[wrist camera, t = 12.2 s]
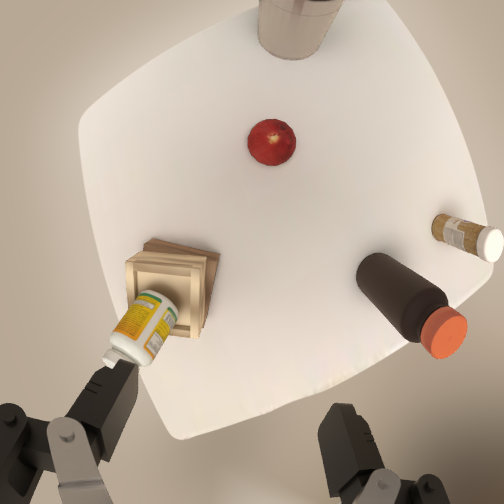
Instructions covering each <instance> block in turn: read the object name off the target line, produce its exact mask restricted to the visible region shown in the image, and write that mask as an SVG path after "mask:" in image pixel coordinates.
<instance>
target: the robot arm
mask: <svg viewBox="0 0 504 504" xmlns="http://www.w3.org/2000/svg"><path fill="white" fill-rule="evenodd" d="M343 2H344V0H259V18H258V39H259V42H260V43H261V45H262V47H263V48H264V49H265V50H266V51H268V52H269V53H270V54H272V55H274V56H276V57H278V58H281V59H286V60H300V59H304V58H307V57H309V56H311V55H312V54H314V53H315V52H316V51H317V49H318V47H319V45H320V44H321V42H322V40H323V38H324V36H325V35H326V33H327V31H328V29H329V27H330V25H331V24H332V22H333V20H334V18H335V16H336V14H337V13H338V11H339V9H340V7H341V5H342V3H343ZM137 394H138V364H135V363H132V362H129V361H126V360H123V359H119V360H118V361H117V363H116V364H115V366H114V367H113V369H112V368H109V367H106V366H105V367H103V368H101V369H99V370H98V371H96V372H95V373H94V375H93V376H92V377H91V379H90V381H89V382H88V383H87V385H86V386H85V389H83V391H82V392H81V394H80V395H79V397H78V398H77V399H76V401H75V403H74V404H73V406H72V407H71V409H70V410H69V412H68V413H67V414H66V416H65V417H59V418H56V419H54V420H52V421H51V422H47V421H42V420H38V419H33V418H30V417H27V416H26V414H25V412H24V411H23V409H22V408H21V407H19V406H18V405H15V404H12V403H6V404H2V405H0V504H29V503H30V501H31V498H32V496H33V494H34V491H35V489H36V487H37V484H38V482H39V480H40V477H41V475H42V473H43V471H44V470H46V471H50V472H55V473H56V474H57V478H58V481H59V485H58V490H59V493H60V497H61V499H62V503H63V504H113V502H112V500H111V498H110V496H109V493H108V491H107V489H106V487H105V484H104V482H103V480H102V478H101V475H100V473H99V470H98V465H99V463H100V460H101V459H102V460H104V461H107V462H109V461H110V459H111V456H112V454H113V452H114V449H115V447H116V445H117V443H118V440H119V438H120V436H121V433H122V431H123V429H124V427H125V424H126V422H127V420H128V418H129V416H130V413H131V411H132V409H133V406H134V405H135V402H136V399H137ZM318 441H319V445H320V450H321V455H322V459H323V464H324V469H325V474H326V479H327V484H328V489H329V494H330V497H340V498H341V502H340V503H339V504H450V502H449V499H448V497H447V494H446V492H445V489H444V486H443V484H442V482H441V480H440V479H439V478H438V477H436V476H435V475H432V474H426V475H423V476H422V477H420V478H419V479H418V480H417V481H410V480H402V479H400V478H399V476H398V475H397V474H396V473H395V472H393V471H392V470H389V469H385V467H384V464H383V462H382V459H381V456H380V454H379V451H378V448H377V446H376V443H375V442H374V438H373V435H371V430H370V428H369V425H368V423H367V422H366V421H365V420H364V419H363V418H362V416H360V415H357V414H356V411H355V409H354V407H353V405H352V404H345V403H334V404H333V405H332V406H331V408H330V410H329V411H328V413H327V415H326V416H325V418H324V420H323V421H322V423H321V424H320V426H319V429H318Z"/></svg>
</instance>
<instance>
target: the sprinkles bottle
mask: <svg viewBox="0 0 504 504" xmlns="http://www.w3.org/2000/svg"><path fill="white" fill-rule="evenodd" d="M432 232H433V236H434V238H435V239H436V240H438V241H443V242H445V243H447V244H449V245H451V246H454V247H456V248H458V249H461V250H463V251H465V252H468V253H471V254H474V255H476V256H478V257H480V258H481V259H482V260H484V261H487V262H489V263H493V262H495V261H496V260H497V259H498V258H499V257H500V255H501V253H502V250H503V245H504V239H503V235H502V233H501V231H500V230H499V229H497V228H494V227H491V226H487V227H485V226H482V225H478V224H475V223H473V222H469V221H465V220H462V219H459V218H453V217H450V216H447V215H445V214H441V215H439V216H437V217H436V219H435V220H434V222H433V226H432Z"/></svg>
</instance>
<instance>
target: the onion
mask: <svg viewBox="0 0 504 504" xmlns="http://www.w3.org/2000/svg"><path fill="white" fill-rule="evenodd" d="M295 148H296V137H295V135H294V132H293V130H292V129H291V128H290V127H289V126H288V125H287V124H286V123H285V122H283V121H280V120H277V119H266V120H264V121H261V122H259V123H257V124H256V125H255V126H254V127H253V128H252V130H251V132H250V134H249V136H248V149H249V151H250V153H251V155H252V156H253V157H254V158H255V159H256V160H257V161H258V162H260V163H263V164H265V165H270V166H277V165H280V164H282V163H285V162H286V161H287V160H288V159H289V158H290V157H291V156H292V154H293V152H294V150H295Z"/></svg>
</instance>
